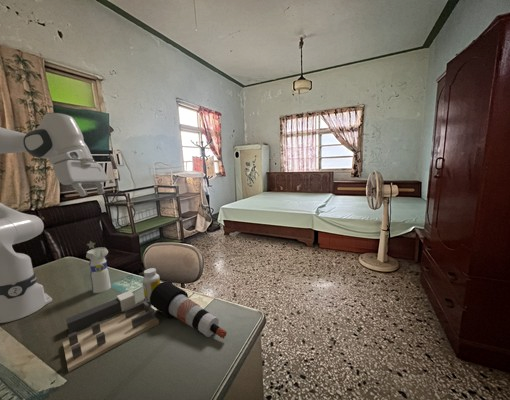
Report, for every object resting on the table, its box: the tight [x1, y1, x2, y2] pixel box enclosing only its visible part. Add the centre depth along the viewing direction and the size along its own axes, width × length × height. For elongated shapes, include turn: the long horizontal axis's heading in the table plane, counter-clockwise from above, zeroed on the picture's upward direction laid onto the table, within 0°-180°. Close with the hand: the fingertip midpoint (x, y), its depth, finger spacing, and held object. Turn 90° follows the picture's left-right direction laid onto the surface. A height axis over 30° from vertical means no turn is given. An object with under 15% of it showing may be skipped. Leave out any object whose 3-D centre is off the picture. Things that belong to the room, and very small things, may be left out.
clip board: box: [62, 300, 160, 373], centre depth 73 cm, size 14×25×4 cm, turn 136°
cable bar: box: [66, 290, 137, 335], centre depth 83 cm, size 5×21×5 cm, turn 136°
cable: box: [149, 281, 227, 339], centre depth 77 cm, size 10×34×10 cm, turn 53°
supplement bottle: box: [141, 267, 161, 303], centre depth 93 cm, size 7×7×13 cm
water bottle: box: [85, 240, 112, 294], centre depth 102 cm, size 8×9×25 cm
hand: (93, 194), depth 79 cm, fingers open, 8 cm apart
